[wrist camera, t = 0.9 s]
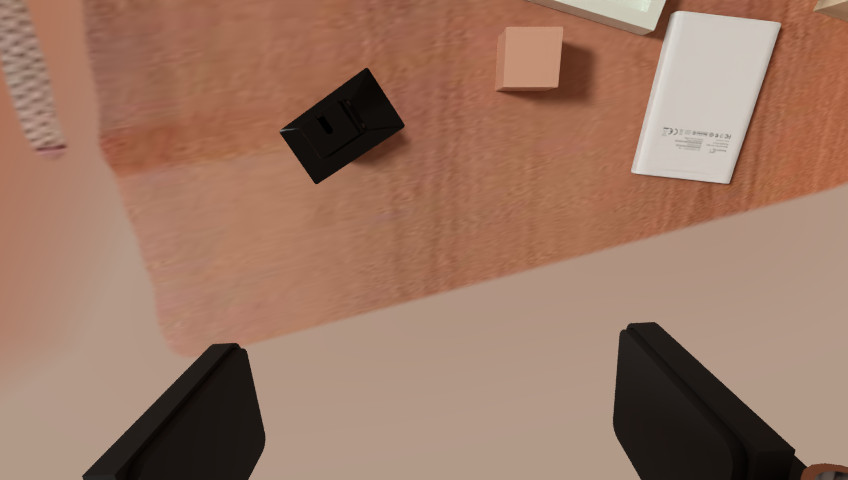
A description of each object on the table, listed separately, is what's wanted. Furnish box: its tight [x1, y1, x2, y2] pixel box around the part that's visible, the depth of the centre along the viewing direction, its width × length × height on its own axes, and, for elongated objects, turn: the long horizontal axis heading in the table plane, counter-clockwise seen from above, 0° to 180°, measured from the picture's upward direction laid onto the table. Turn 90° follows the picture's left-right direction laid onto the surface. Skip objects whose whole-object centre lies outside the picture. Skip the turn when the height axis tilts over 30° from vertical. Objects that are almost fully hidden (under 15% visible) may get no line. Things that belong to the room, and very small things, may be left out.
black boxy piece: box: [280, 68, 405, 184], centre depth 33 cm, size 12×7×5 cm, turn 122°
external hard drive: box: [631, 11, 781, 184], centre depth 33 cm, size 2×8×12 cm
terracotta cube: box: [495, 27, 563, 91], centre depth 31 cm, size 4×4×4 cm
